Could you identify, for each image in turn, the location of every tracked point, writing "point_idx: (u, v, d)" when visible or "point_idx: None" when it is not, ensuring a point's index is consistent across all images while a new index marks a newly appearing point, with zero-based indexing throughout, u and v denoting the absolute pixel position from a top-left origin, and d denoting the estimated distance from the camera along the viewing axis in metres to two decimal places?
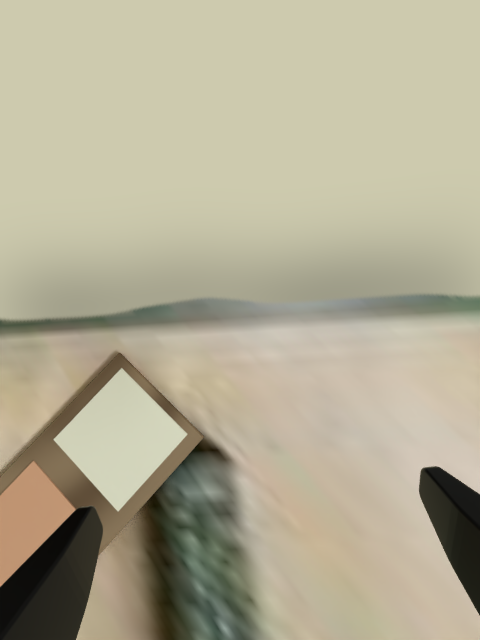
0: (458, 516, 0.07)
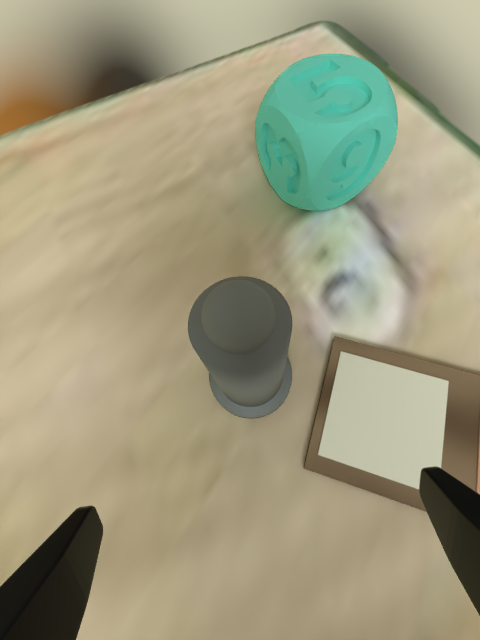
0: (458, 516, 0.07)
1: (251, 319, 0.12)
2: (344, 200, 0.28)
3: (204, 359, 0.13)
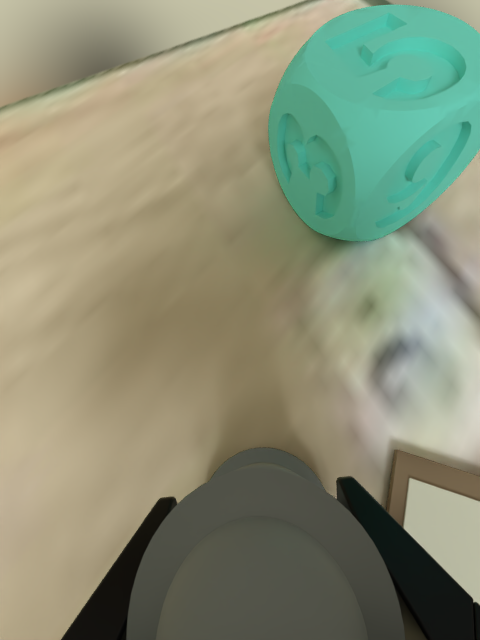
0: None
1: None
2: (396, 226, 0.19)
3: None
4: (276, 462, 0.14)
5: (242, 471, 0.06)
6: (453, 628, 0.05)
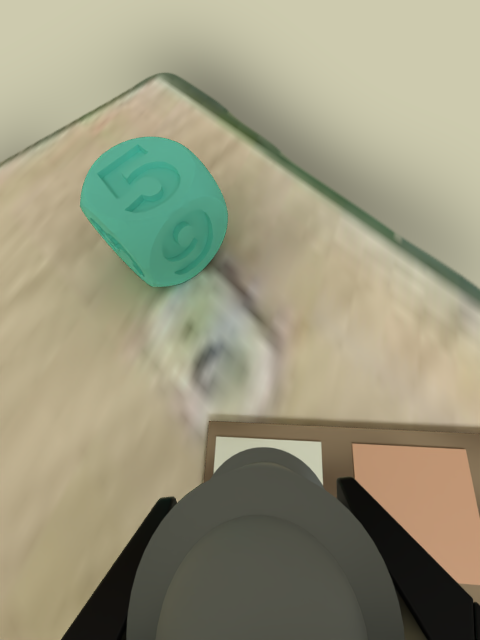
0: None
1: None
2: (200, 267, 0.27)
3: None
4: (276, 461, 0.14)
5: (242, 470, 0.06)
6: (453, 628, 0.05)
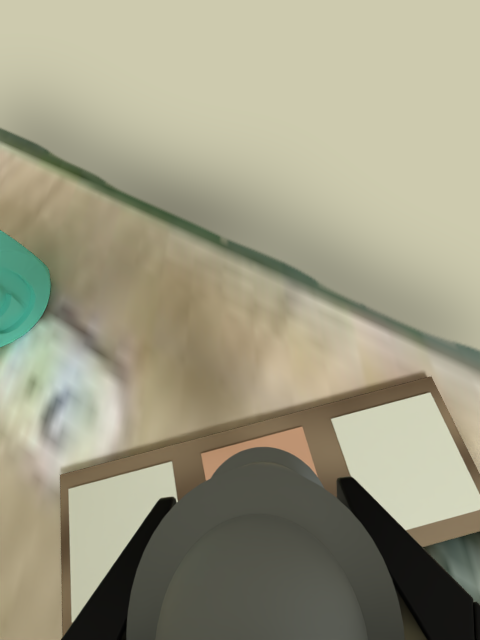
0: None
1: None
2: (35, 318, 0.26)
3: None
4: (276, 461, 0.14)
5: (242, 469, 0.06)
6: (453, 628, 0.05)
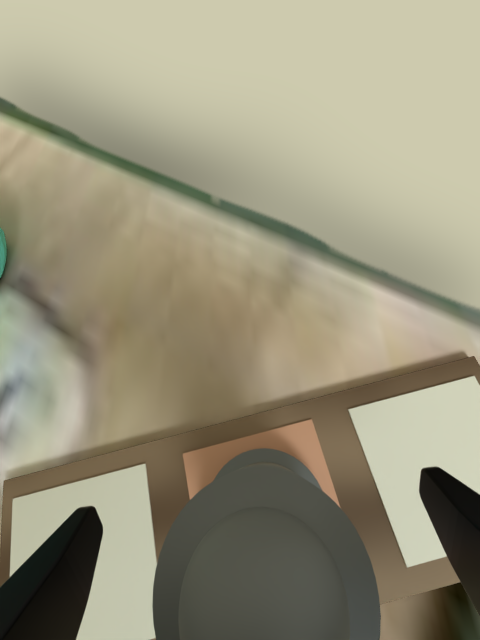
0: (458, 516, 0.07)
1: None
2: None
3: None
4: (276, 462, 0.15)
5: (246, 469, 0.07)
6: None
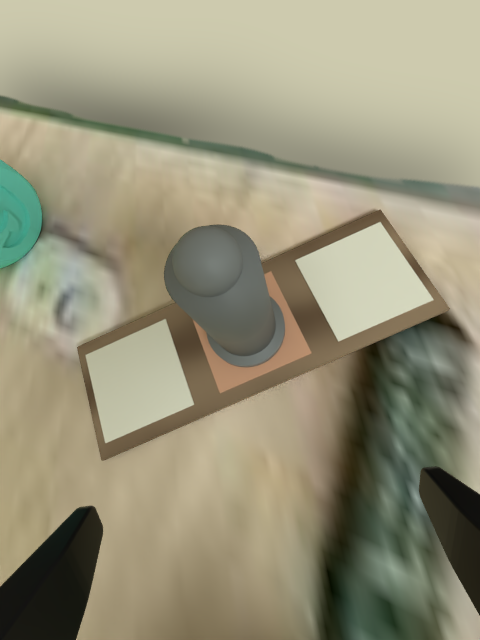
0: (458, 516, 0.07)
1: (215, 259, 0.12)
2: (33, 236, 0.30)
3: (183, 307, 0.14)
4: None
5: None
6: None
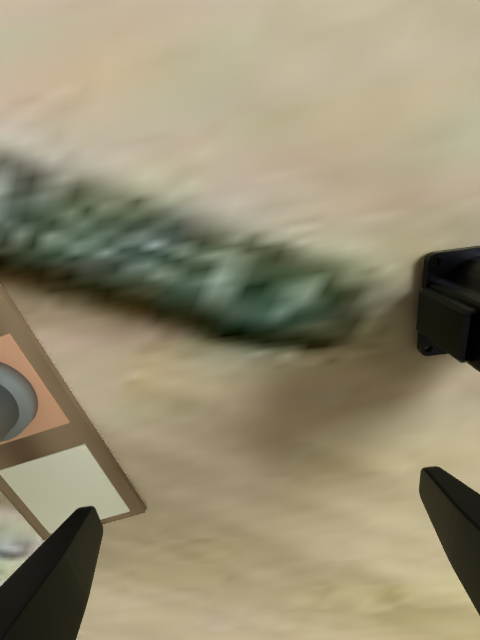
0: (458, 516, 0.07)
1: None
2: None
3: None
4: None
5: None
6: None
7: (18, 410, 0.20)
